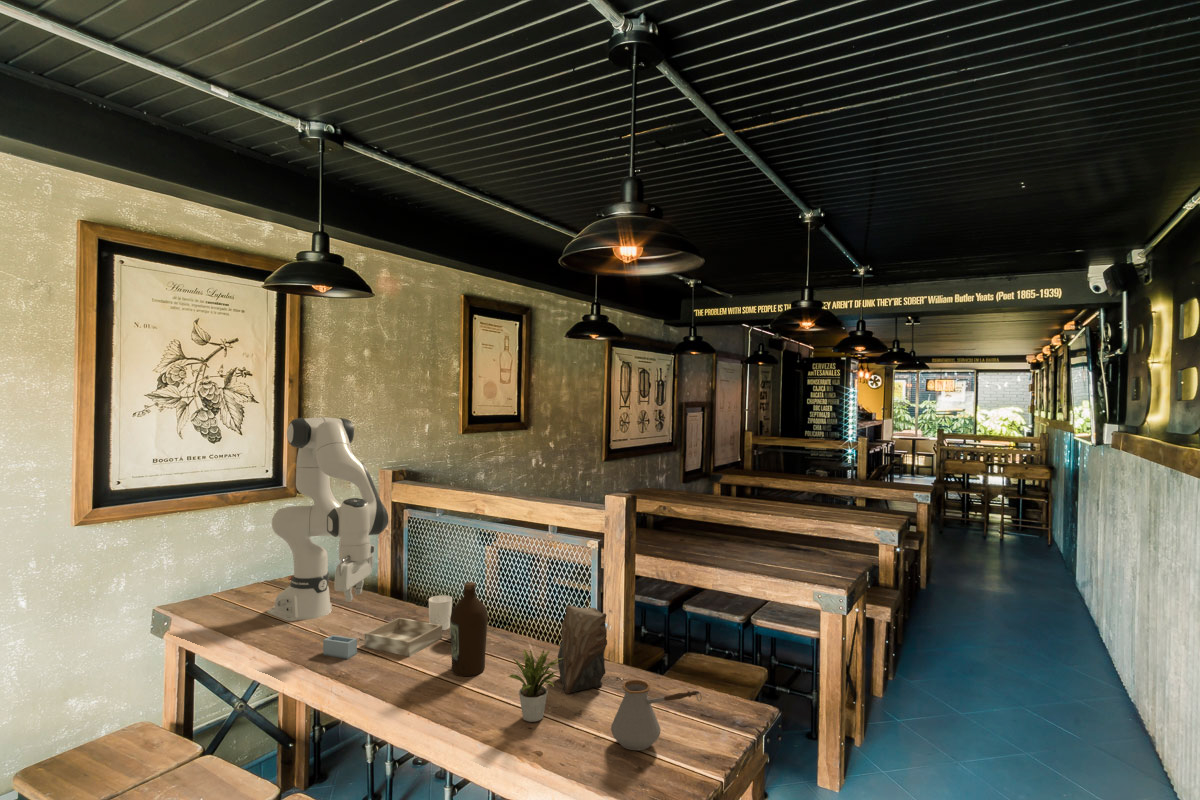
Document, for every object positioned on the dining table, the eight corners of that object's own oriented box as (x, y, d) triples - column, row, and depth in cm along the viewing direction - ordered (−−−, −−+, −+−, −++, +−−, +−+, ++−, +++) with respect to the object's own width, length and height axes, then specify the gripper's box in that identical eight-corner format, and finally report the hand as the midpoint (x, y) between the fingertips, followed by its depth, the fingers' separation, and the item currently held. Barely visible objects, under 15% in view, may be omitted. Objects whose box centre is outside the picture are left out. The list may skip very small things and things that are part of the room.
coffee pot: (601, 746, 141) (602, 680, 141) (624, 723, 151) (625, 662, 151) (690, 774, 131) (691, 703, 131) (708, 748, 141) (709, 681, 141)
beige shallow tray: (364, 647, 195) (364, 633, 195) (398, 630, 210) (399, 617, 210) (409, 657, 189) (409, 642, 189) (442, 639, 203) (442, 625, 204)
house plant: (553, 737, 145) (554, 667, 145) (497, 731, 147) (498, 661, 147) (567, 707, 159) (568, 643, 159) (515, 702, 161) (516, 639, 161)
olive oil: (481, 659, 188) (483, 576, 188) (491, 673, 178) (492, 586, 178) (446, 665, 183) (447, 580, 183) (453, 680, 174) (455, 590, 174)
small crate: (323, 656, 188) (323, 639, 188) (332, 651, 192) (332, 635, 192) (347, 660, 186) (348, 643, 186) (356, 655, 190) (357, 638, 190)
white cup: (437, 633, 208) (438, 604, 208) (423, 628, 213) (423, 599, 213) (456, 627, 214) (457, 598, 214) (441, 622, 219) (442, 593, 219)
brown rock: (556, 673, 179) (557, 604, 179) (598, 669, 182) (599, 601, 182) (564, 693, 166) (565, 619, 167) (610, 689, 170) (611, 615, 170)
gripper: (350, 560, 181) (349, 608, 180) (376, 545, 201) (376, 587, 201) (328, 560, 181) (328, 608, 181) (357, 544, 201) (356, 587, 201)
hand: (353, 597), depth 191 cm, fingers open, 5 cm apart
